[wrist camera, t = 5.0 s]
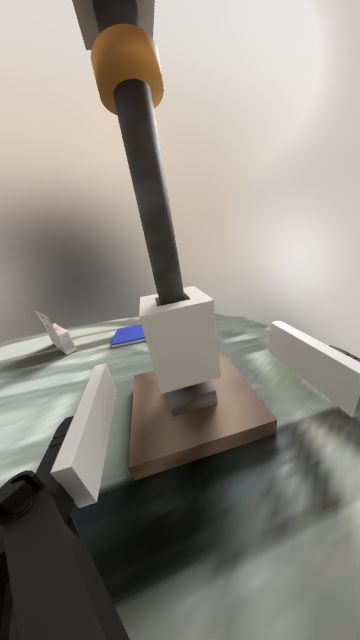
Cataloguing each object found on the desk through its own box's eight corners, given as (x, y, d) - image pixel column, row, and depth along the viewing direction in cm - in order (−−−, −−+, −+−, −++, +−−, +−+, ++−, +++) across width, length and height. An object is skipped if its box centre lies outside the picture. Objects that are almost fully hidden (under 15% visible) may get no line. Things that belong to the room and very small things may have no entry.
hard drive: (163, 318, 47) (117, 328, 46) (165, 332, 39) (110, 343, 39) (165, 324, 48) (119, 333, 47) (166, 338, 40) (112, 349, 39)
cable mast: (134, 480, 16) (-1009, -1828, 1) (138, 385, 27) (6, 2, 12) (275, 433, 17) (380, -897, 3) (224, 362, 28) (195, -2, 14)
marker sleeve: (161, 394, 17) (139, 316, 13) (156, 358, 22) (140, 297, 19) (221, 377, 17) (213, 299, 14) (202, 346, 23) (193, 285, 20)
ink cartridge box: (62, 340, 48) (46, 306, 44) (78, 350, 41) (59, 311, 37) (52, 344, 46) (34, 310, 43) (66, 356, 39) (46, 316, 35)
